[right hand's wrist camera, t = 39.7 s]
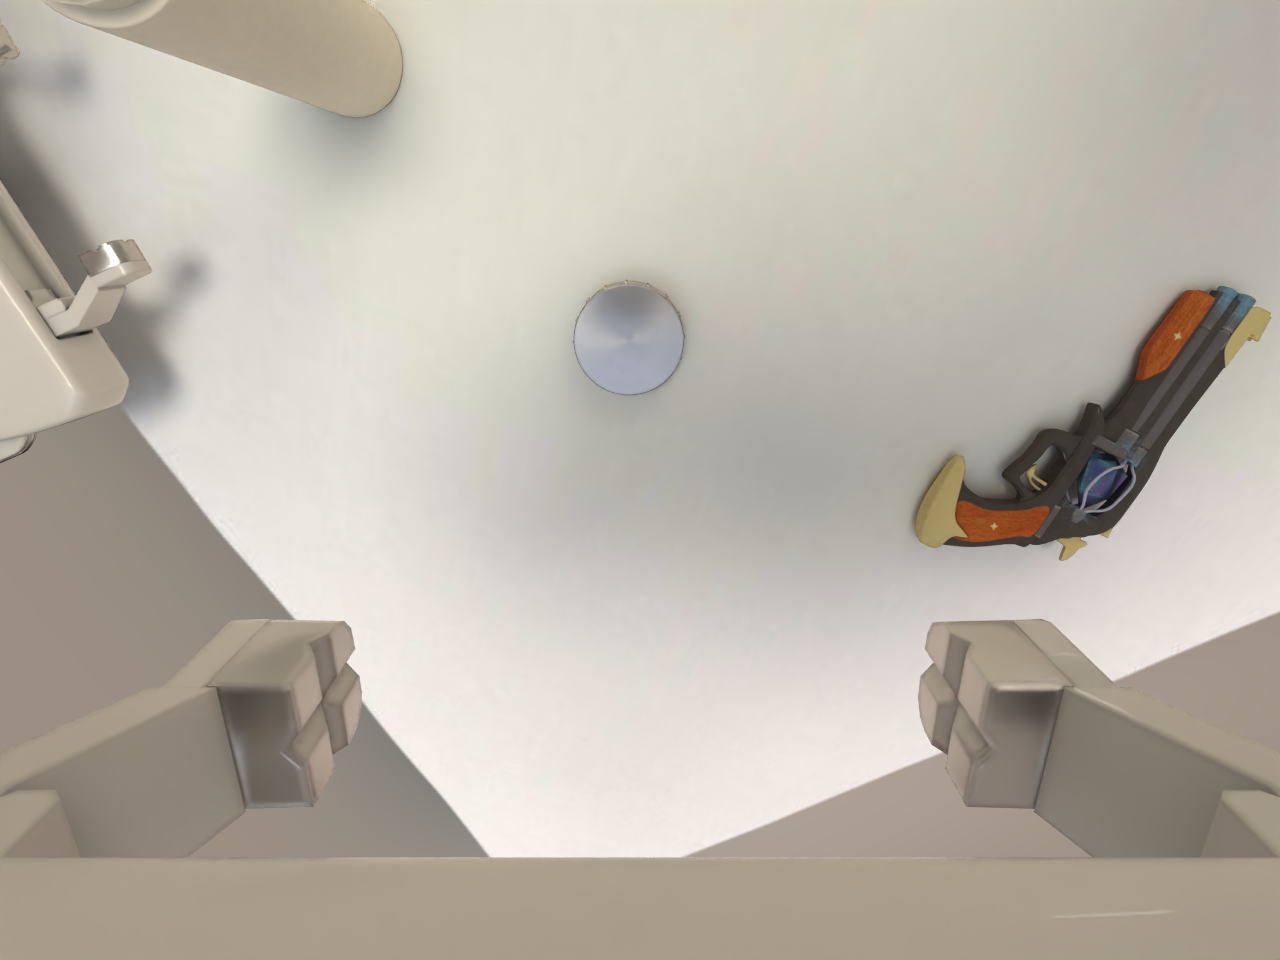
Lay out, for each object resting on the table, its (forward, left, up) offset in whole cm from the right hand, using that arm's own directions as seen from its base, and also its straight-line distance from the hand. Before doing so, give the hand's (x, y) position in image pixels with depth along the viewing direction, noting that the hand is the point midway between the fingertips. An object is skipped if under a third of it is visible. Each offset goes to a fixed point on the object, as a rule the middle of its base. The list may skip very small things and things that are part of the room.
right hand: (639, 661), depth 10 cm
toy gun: (-24, -5, -30) cm, 39 cm away
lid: (+1, 0, -28) cm, 29 cm away
